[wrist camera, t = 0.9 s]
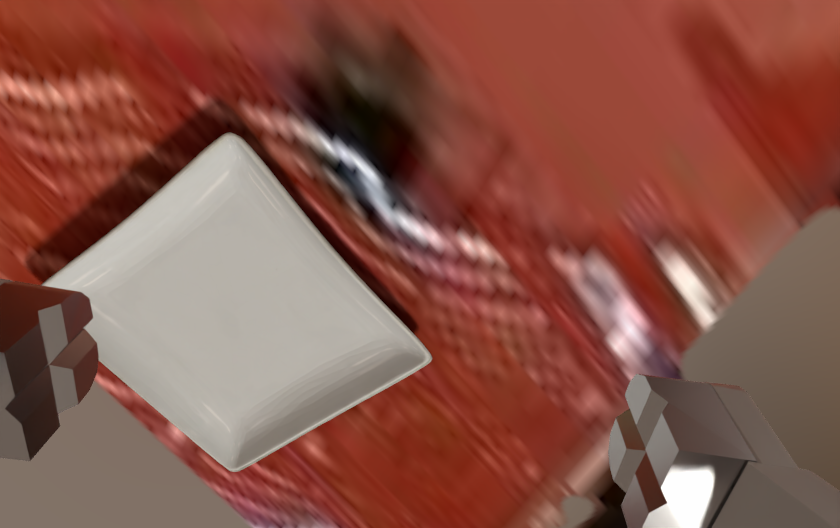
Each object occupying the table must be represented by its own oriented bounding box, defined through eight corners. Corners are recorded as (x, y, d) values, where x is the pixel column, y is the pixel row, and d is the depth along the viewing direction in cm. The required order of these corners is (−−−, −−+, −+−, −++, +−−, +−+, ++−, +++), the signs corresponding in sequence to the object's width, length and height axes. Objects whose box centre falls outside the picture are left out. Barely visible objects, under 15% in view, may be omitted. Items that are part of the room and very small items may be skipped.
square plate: (243, 452, 67) (231, 479, 63) (48, 278, 57) (22, 299, 54) (437, 341, 58) (436, 365, 55) (245, 116, 49) (228, 128, 45)
